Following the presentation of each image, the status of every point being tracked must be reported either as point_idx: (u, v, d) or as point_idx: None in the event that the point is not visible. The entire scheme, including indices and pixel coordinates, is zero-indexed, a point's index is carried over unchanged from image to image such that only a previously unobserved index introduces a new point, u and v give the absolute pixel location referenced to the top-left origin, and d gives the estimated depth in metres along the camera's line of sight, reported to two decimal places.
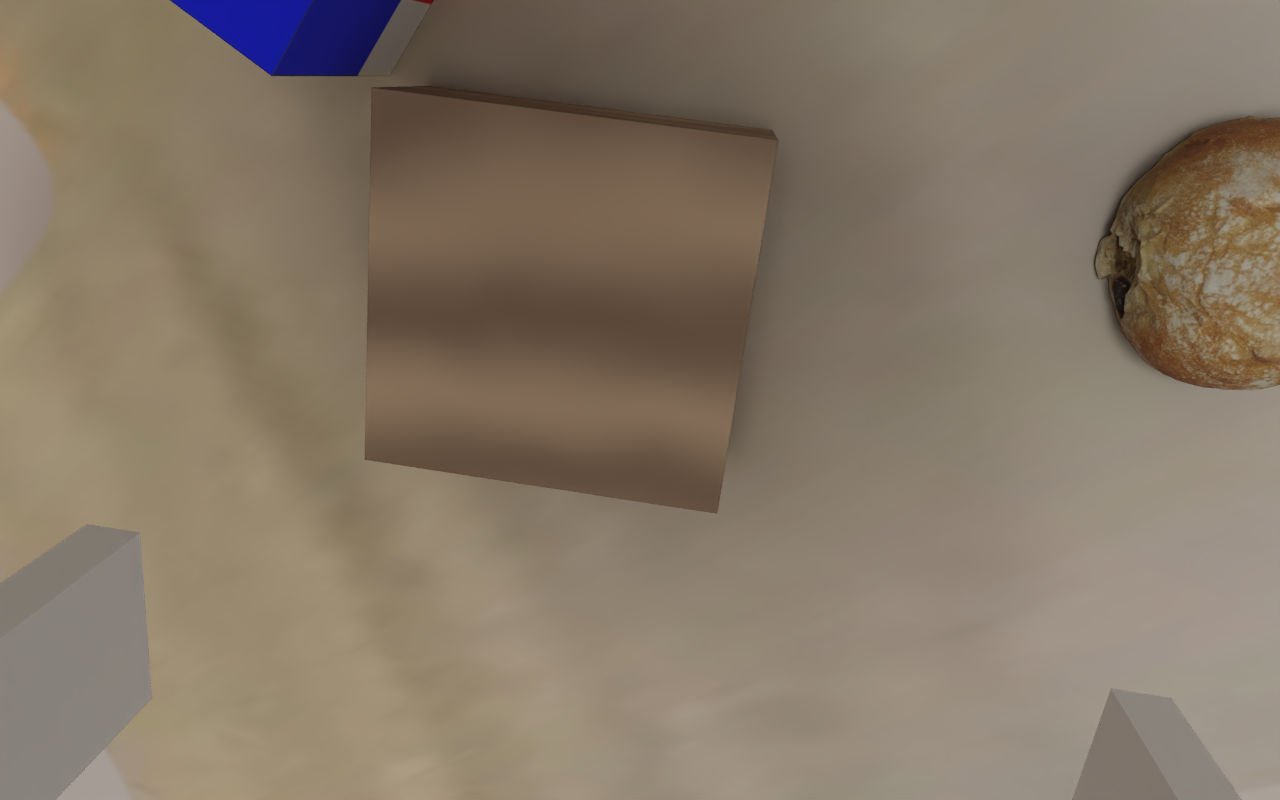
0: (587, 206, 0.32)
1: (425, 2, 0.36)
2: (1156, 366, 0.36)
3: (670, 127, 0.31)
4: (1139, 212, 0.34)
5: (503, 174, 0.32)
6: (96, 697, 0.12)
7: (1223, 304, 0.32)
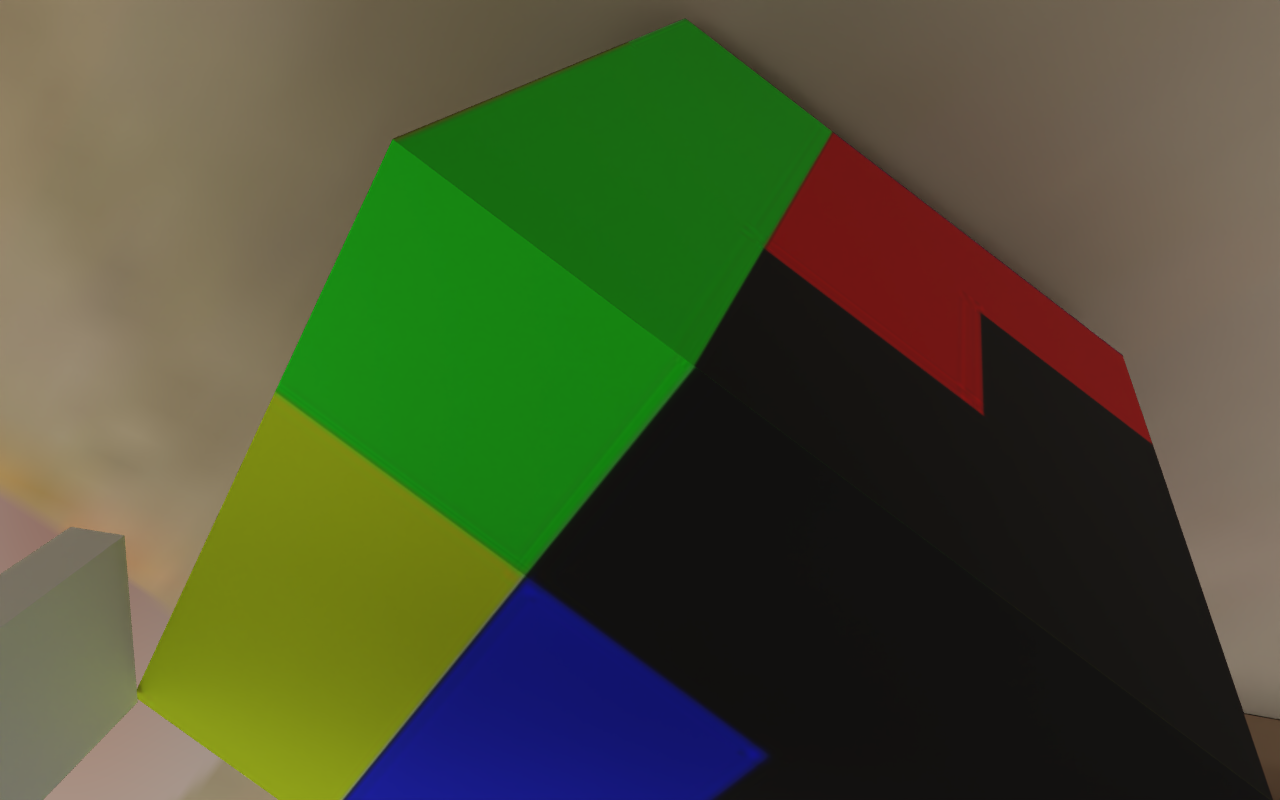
0: None
1: None
2: None
3: None
4: None
5: None
6: (79, 701, 0.12)
7: None
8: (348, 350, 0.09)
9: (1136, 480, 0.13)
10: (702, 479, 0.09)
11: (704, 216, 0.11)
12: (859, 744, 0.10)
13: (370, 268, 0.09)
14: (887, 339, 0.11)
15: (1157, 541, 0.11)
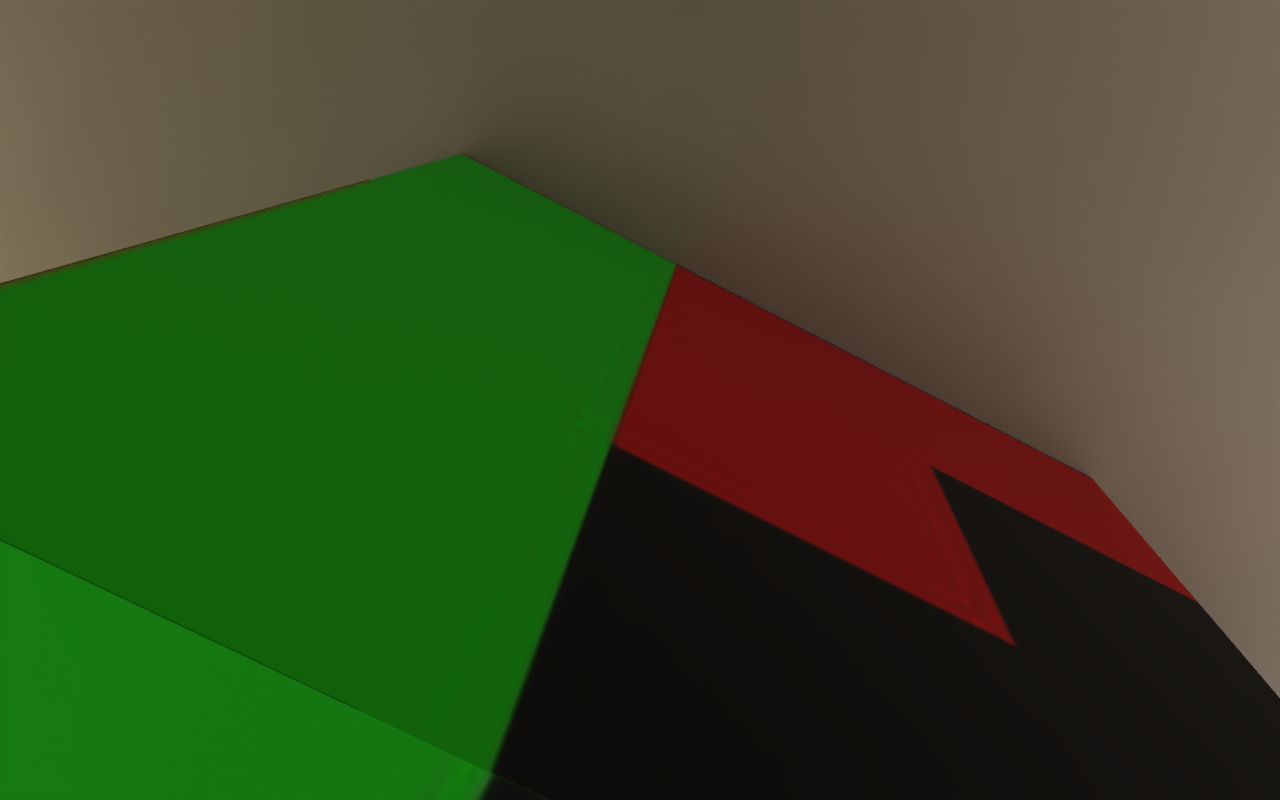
0: None
1: None
2: None
3: None
4: None
5: None
6: None
7: None
8: None
9: (1224, 675, 0.08)
10: None
11: (500, 411, 0.06)
12: None
13: None
14: (840, 553, 0.07)
15: None
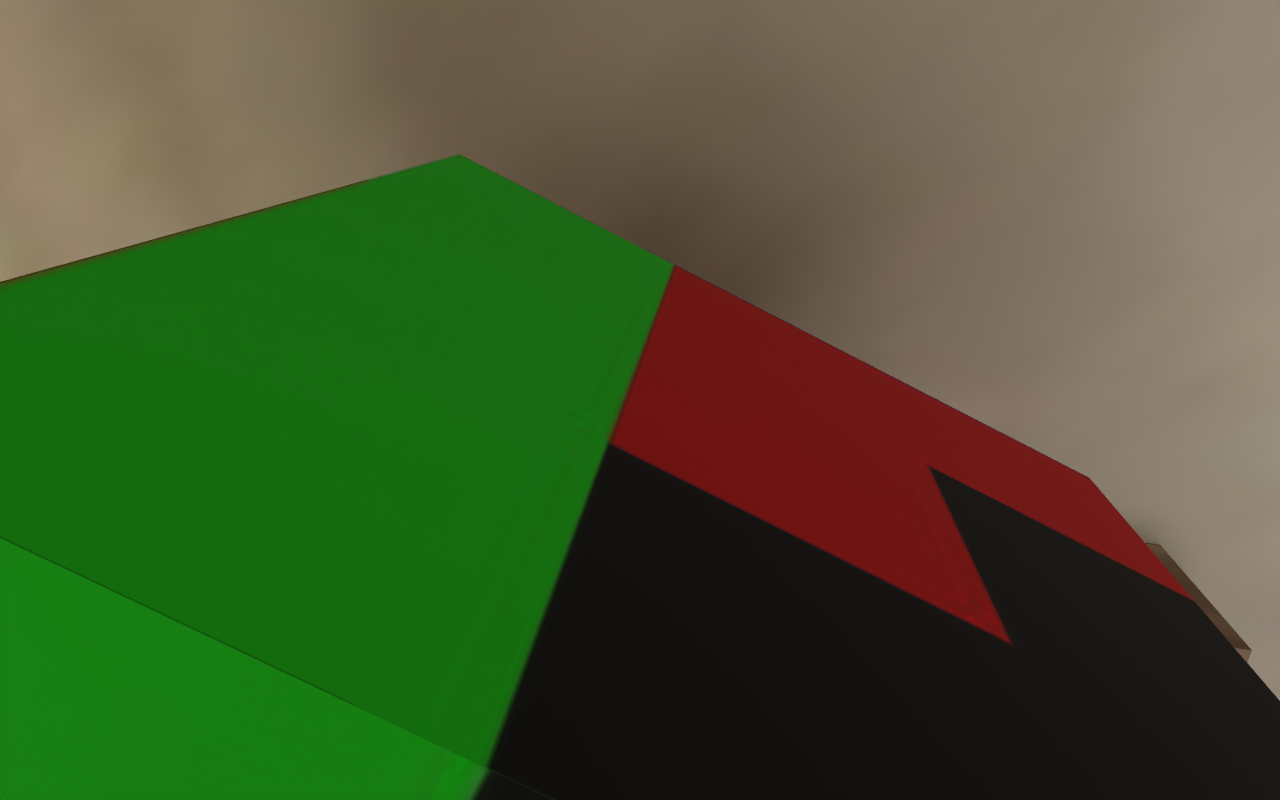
0: None
1: None
2: None
3: None
4: None
5: None
6: None
7: None
8: None
9: (1219, 673, 0.08)
10: None
11: (498, 410, 0.06)
12: None
13: None
14: (835, 551, 0.07)
15: None
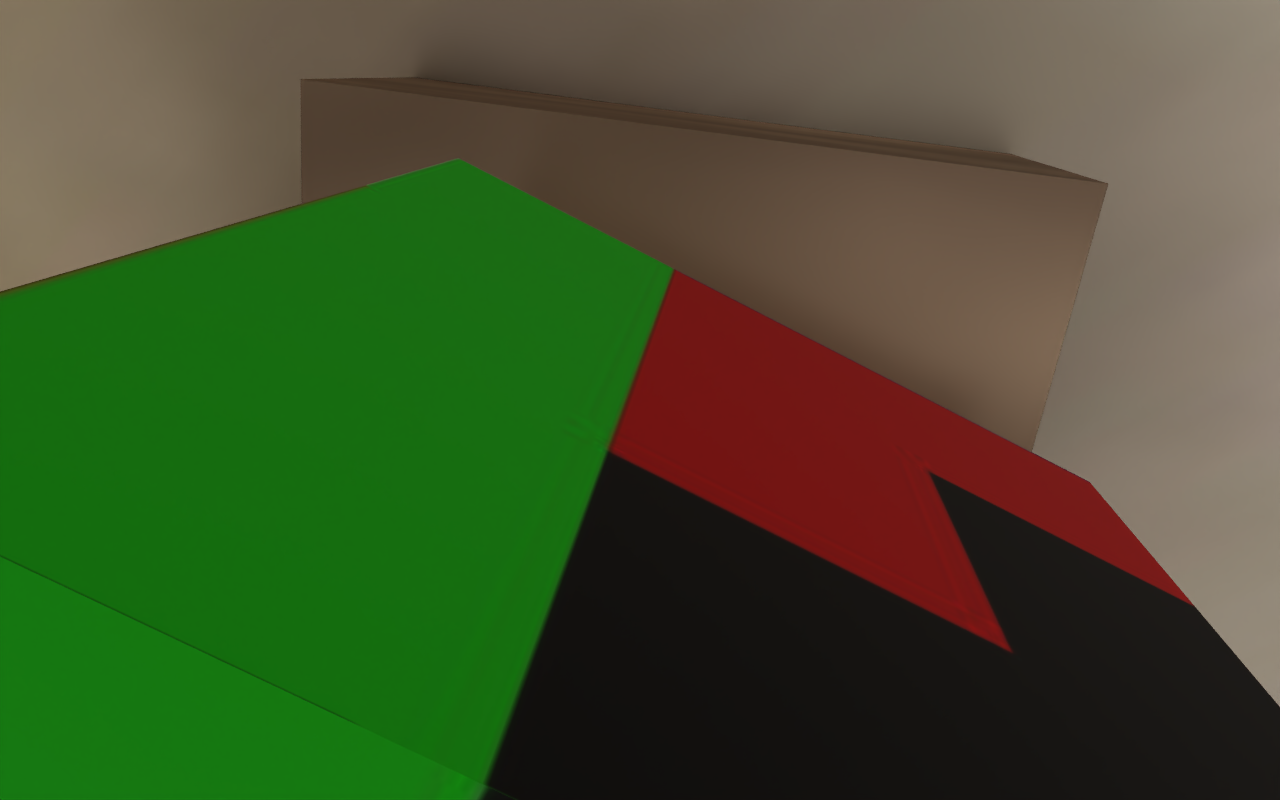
0: None
1: None
2: None
3: (890, 157, 0.16)
4: None
5: None
6: None
7: None
8: None
9: (1221, 680, 0.08)
10: None
11: (497, 417, 0.06)
12: None
13: None
14: (835, 559, 0.07)
15: None
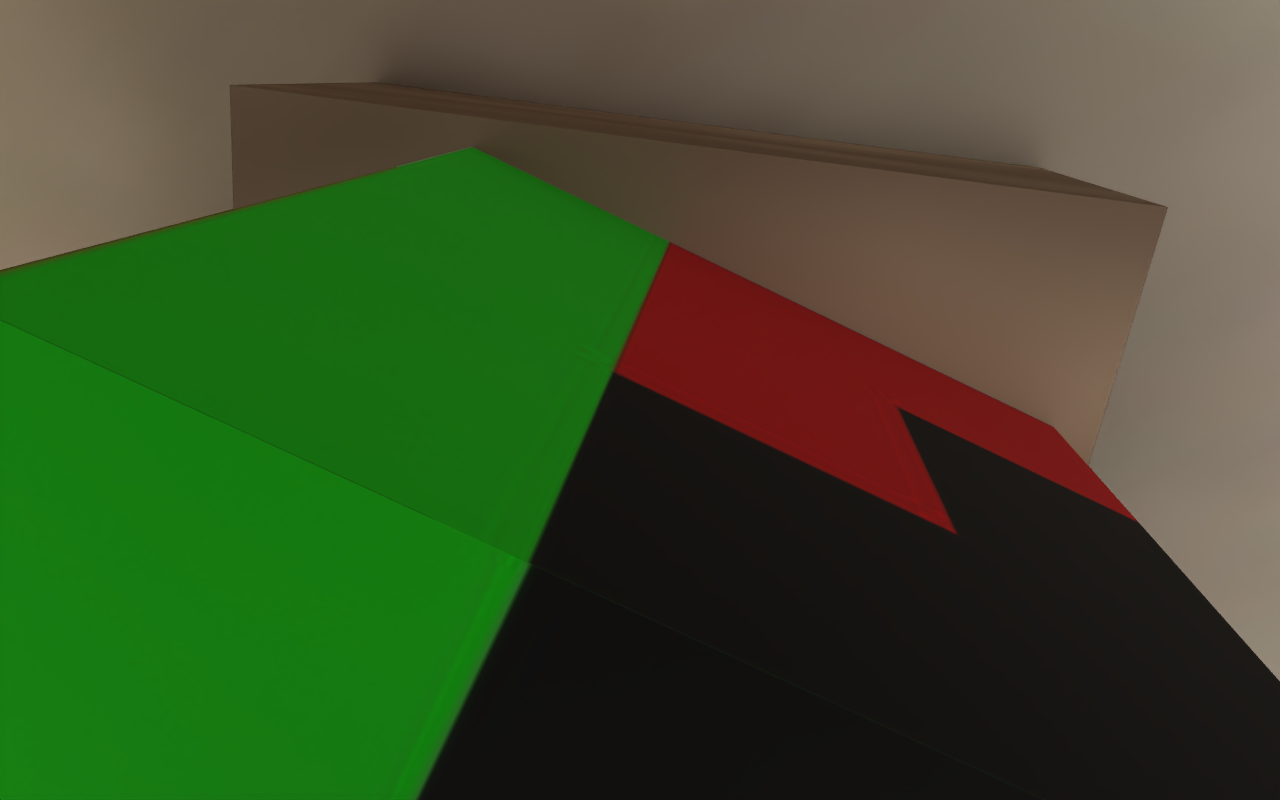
0: None
1: None
2: None
3: (912, 176, 0.14)
4: None
5: None
6: None
7: None
8: None
9: (1150, 572, 0.10)
10: (584, 748, 0.05)
11: (520, 342, 0.08)
12: None
13: None
14: (807, 460, 0.08)
15: (1218, 651, 0.08)
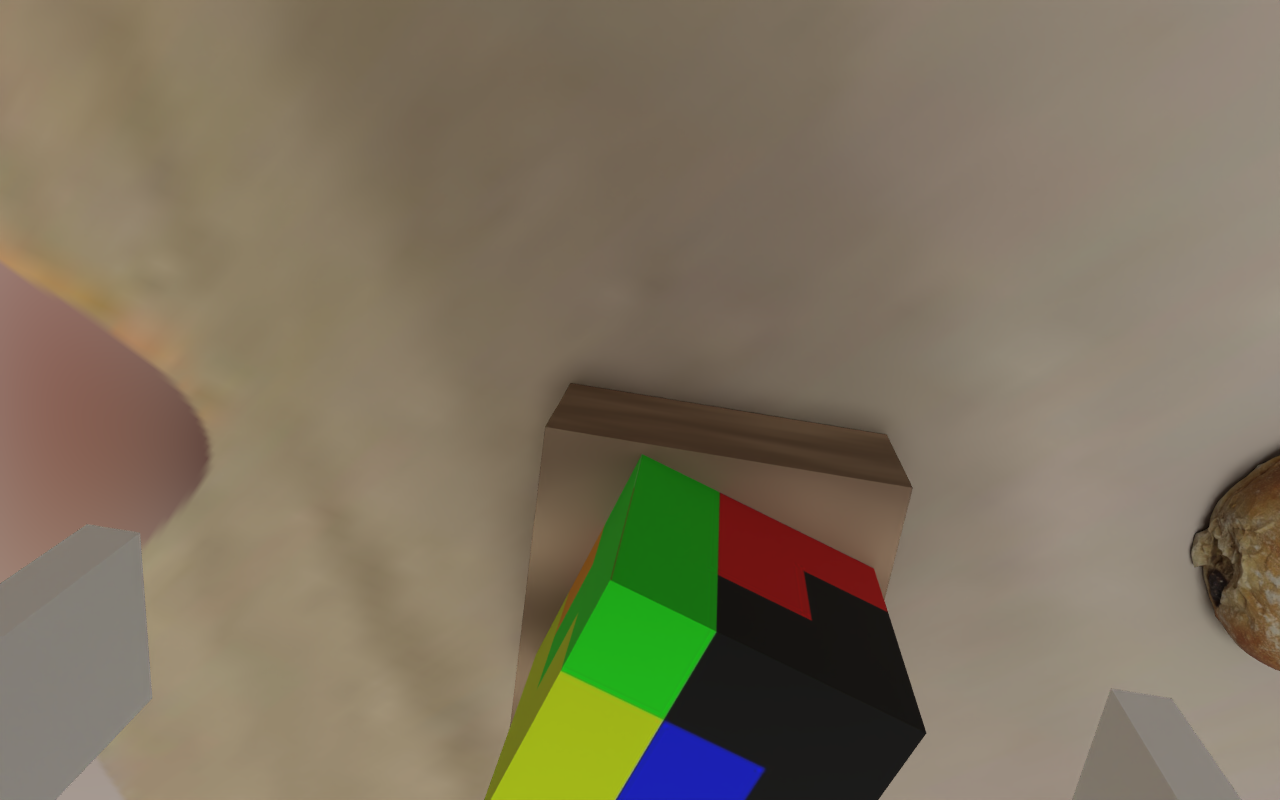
0: None
1: None
2: (1250, 654, 0.39)
3: (815, 472, 0.35)
4: (1239, 525, 0.38)
5: None
6: (96, 697, 0.12)
7: None
8: (592, 650, 0.27)
9: (878, 631, 0.31)
10: (724, 668, 0.26)
11: (695, 569, 0.29)
12: (795, 753, 0.27)
13: (601, 620, 0.26)
14: (770, 599, 0.29)
15: (887, 654, 0.30)
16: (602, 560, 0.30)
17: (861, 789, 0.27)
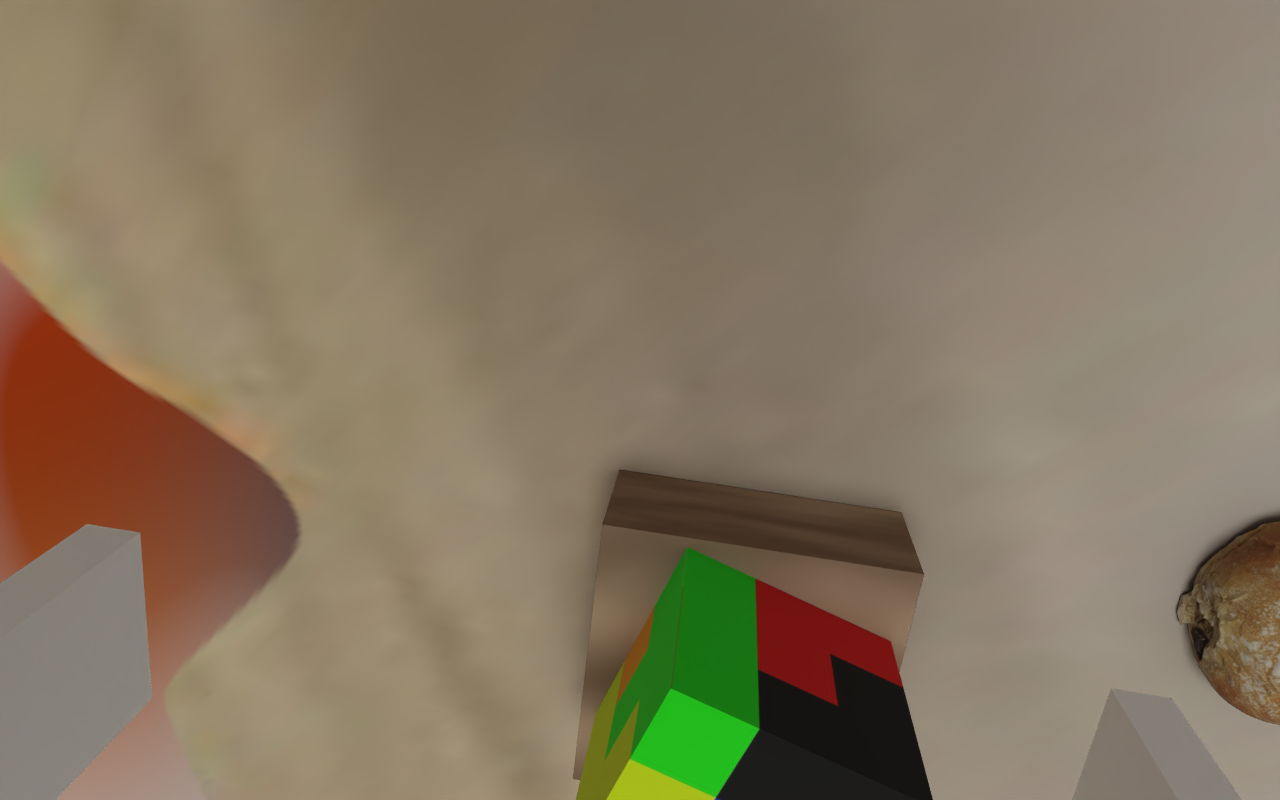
0: None
1: None
2: None
3: (839, 561, 0.40)
4: (1217, 594, 0.43)
5: None
6: (96, 697, 0.12)
7: None
8: (655, 742, 0.32)
9: (895, 708, 0.36)
10: (766, 757, 0.32)
11: (739, 666, 0.34)
12: None
13: (663, 719, 0.32)
14: (802, 688, 0.35)
15: (902, 732, 0.35)
16: (658, 653, 0.36)
17: None
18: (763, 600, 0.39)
